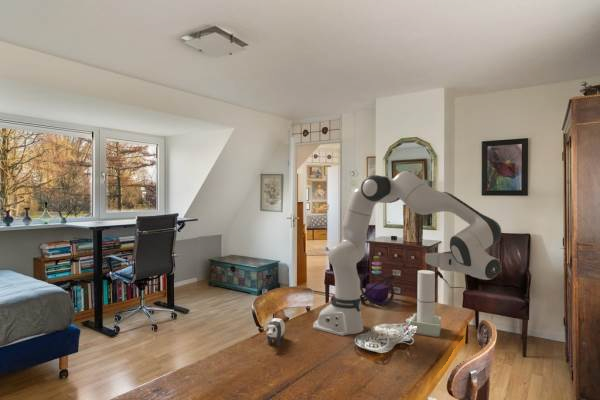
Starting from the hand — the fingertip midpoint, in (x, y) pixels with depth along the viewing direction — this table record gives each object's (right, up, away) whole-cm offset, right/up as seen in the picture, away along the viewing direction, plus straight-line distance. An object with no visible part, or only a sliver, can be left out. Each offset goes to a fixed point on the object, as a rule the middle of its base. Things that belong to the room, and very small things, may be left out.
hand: (438, 254), depth 152 cm
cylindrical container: (-2, -34, +10) cm, 36 cm away
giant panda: (-67, -35, -3) cm, 76 cm away
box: (-2, -35, +10) cm, 36 cm away
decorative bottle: (-15, -34, +51) cm, 63 cm away
